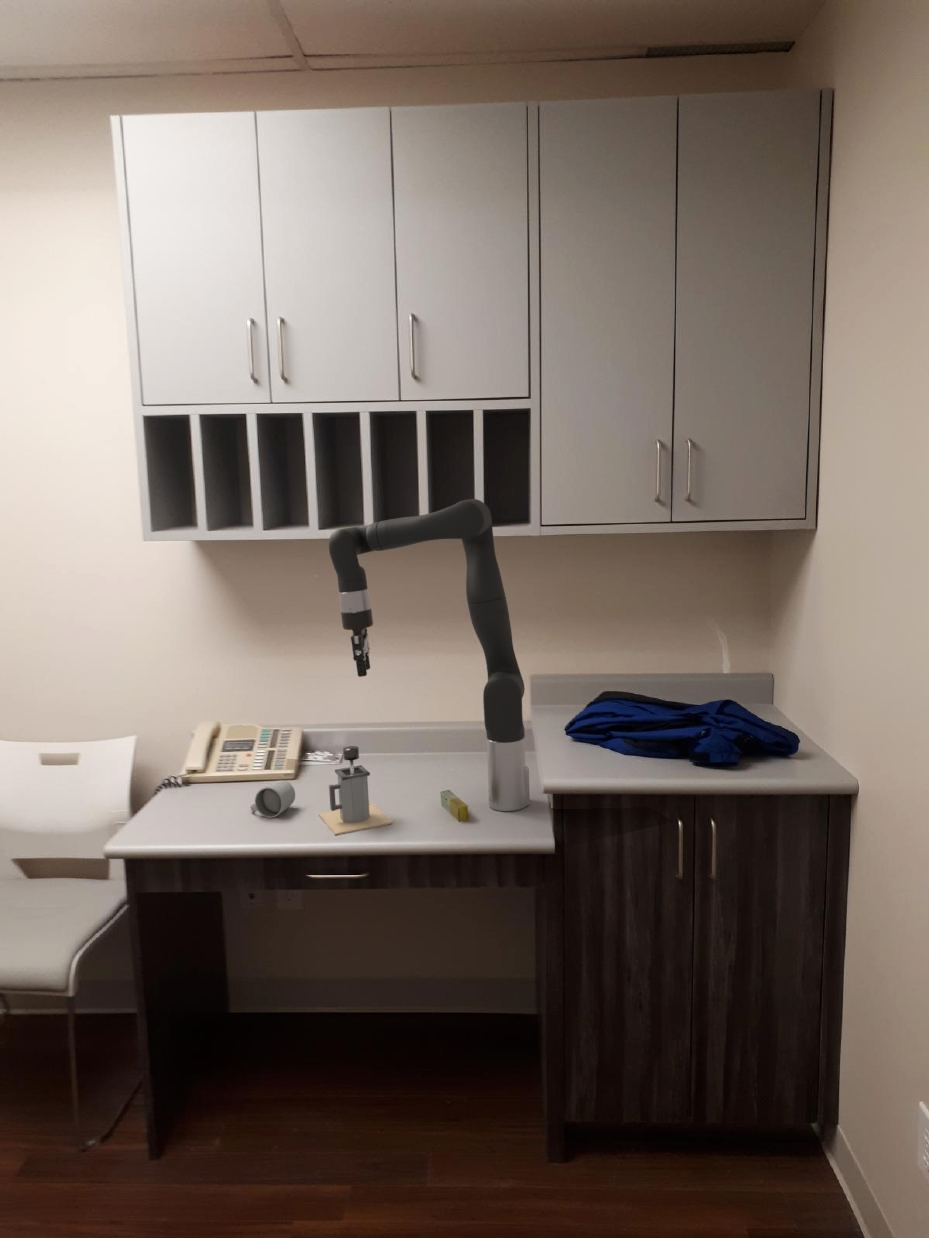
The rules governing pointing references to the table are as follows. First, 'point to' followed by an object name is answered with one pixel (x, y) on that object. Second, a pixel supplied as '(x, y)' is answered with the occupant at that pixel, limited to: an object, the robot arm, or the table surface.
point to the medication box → (454, 806)
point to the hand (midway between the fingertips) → (364, 672)
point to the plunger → (351, 756)
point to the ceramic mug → (274, 799)
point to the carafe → (352, 804)
